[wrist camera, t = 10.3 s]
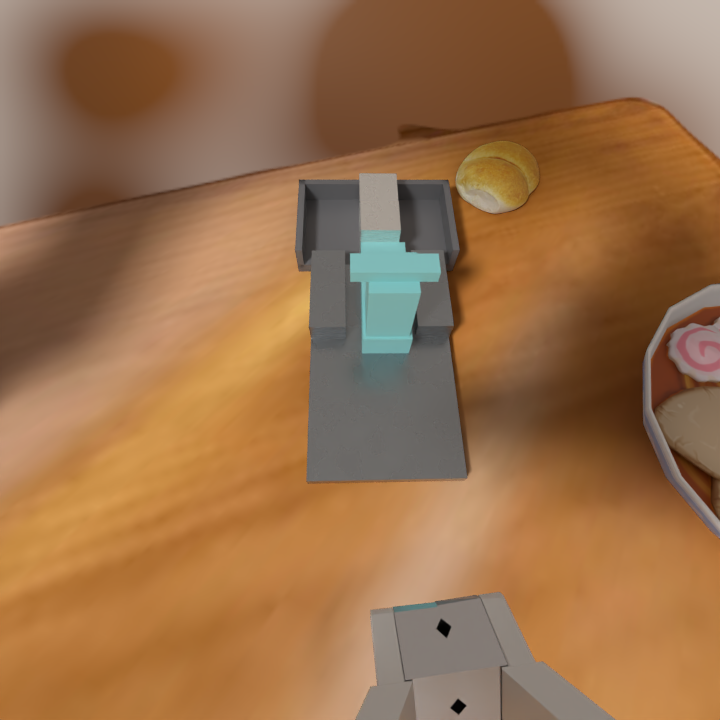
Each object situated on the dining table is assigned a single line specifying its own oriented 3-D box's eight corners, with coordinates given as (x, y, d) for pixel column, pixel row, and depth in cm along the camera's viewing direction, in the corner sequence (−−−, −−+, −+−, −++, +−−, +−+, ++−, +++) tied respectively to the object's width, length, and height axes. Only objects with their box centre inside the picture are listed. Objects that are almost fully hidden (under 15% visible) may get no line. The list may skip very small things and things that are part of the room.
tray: (298, 271, 40) (295, 250, 37) (302, 203, 44) (299, 179, 41) (452, 270, 40) (459, 250, 38) (442, 202, 44) (448, 179, 41)
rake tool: (350, 353, 35) (350, 287, 26) (349, 260, 39) (349, 177, 31) (420, 353, 35) (442, 287, 27) (412, 260, 39) (429, 177, 31)
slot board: (307, 483, 31) (303, 476, 29) (314, 271, 40) (311, 250, 37) (464, 480, 32) (474, 473, 29) (437, 270, 40) (443, 250, 38)
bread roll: (543, 178, 46) (559, 146, 43) (509, 227, 43) (524, 197, 40) (478, 148, 48) (488, 116, 45) (441, 193, 45) (449, 162, 41)
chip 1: (359, 232, 41) (359, 200, 37) (358, 206, 42) (359, 173, 39) (394, 232, 41) (398, 200, 37) (392, 206, 42) (396, 173, 39)
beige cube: (359, 260, 39) (360, 230, 36) (359, 232, 41) (360, 200, 37) (396, 260, 39) (400, 230, 36) (394, 232, 41) (398, 200, 37)
